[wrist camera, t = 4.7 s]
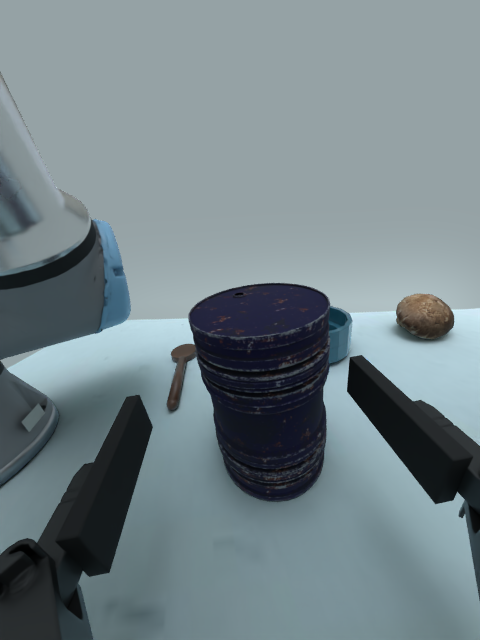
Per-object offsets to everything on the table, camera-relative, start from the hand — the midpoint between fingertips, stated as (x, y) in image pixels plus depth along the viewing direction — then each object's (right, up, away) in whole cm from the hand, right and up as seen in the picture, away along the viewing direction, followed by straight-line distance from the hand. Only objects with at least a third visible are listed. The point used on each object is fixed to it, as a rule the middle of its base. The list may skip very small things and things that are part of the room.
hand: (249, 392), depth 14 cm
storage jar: (+3, -8, +8) cm, 12 cm away
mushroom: (+29, +2, +22) cm, 36 cm away
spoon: (-10, -4, +21) cm, 23 cm away
